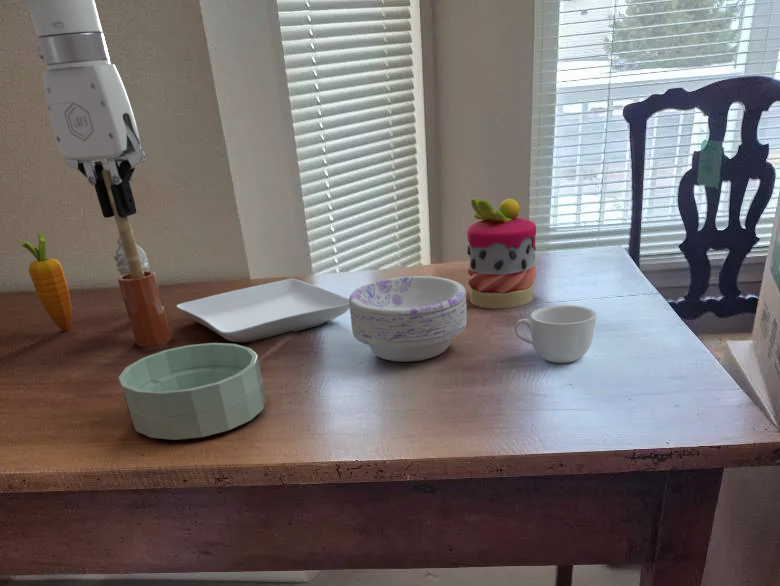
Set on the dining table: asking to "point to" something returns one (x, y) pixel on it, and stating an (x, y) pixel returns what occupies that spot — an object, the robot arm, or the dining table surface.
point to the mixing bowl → (193, 390)
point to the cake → (501, 256)
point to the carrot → (50, 285)
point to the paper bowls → (408, 316)
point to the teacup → (560, 332)
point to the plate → (266, 310)
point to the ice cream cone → (122, 259)
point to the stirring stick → (125, 233)
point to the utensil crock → (145, 309)
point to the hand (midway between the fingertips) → (120, 214)
